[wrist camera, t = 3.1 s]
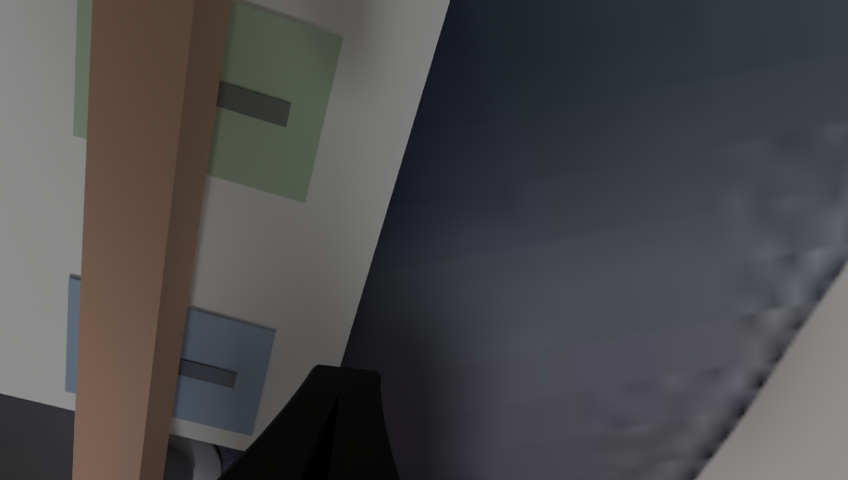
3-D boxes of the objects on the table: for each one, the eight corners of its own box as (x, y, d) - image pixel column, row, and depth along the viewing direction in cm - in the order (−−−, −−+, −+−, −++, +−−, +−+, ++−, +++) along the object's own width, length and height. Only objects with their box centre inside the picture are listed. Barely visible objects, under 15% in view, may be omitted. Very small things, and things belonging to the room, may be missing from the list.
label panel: (457, -28, 14) (459, -31, 13) (290, 529, 23) (284, 550, 22) (3, -188, 13) (-29, -203, 12) (15, 468, 22) (-2, 487, 21)
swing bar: (188, 502, 22) (138, 602, 18) (117, 485, 22) (51, 584, 18) (288, -67, 13) (231, -98, 10) (172, -107, 13) (66, -155, 9)
